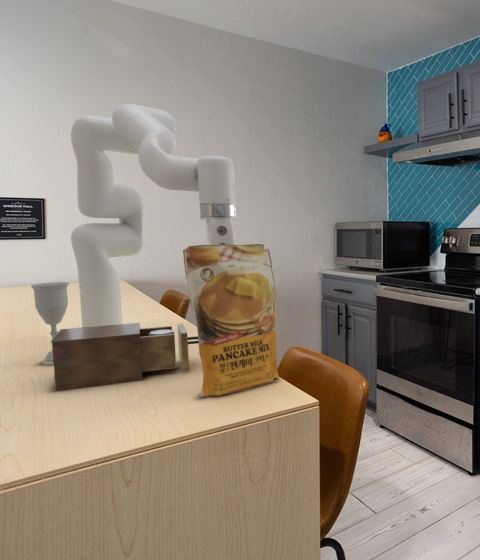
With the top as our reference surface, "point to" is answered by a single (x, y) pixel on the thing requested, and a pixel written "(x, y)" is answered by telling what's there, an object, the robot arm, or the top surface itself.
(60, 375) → the cabinet
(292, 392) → the top surface
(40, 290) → the chalice
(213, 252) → the pancake mix bag
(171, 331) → the can
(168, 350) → the drawer
